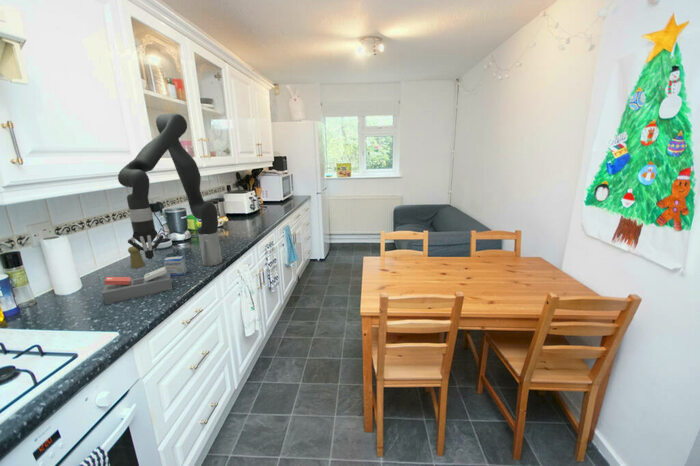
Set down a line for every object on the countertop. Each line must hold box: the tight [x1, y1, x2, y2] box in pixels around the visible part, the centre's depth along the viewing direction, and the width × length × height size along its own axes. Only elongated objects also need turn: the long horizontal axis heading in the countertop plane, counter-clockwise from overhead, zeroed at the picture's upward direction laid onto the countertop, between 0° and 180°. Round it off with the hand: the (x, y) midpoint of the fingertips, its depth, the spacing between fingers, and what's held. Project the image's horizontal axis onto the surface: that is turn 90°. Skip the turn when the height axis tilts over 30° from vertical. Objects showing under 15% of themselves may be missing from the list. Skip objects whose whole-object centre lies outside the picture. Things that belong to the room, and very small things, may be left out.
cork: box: [127, 245, 145, 269], centre depth 152 cm, size 6×6×11 cm
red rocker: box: [104, 276, 132, 286], centre depth 120 cm, size 8×4×2 cm, turn 123°
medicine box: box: [163, 255, 187, 277], centre depth 142 cm, size 8×4×9 cm, turn 105°
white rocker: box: [143, 266, 166, 281], centre depth 126 cm, size 8×4×2 cm, turn 121°
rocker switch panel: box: [101, 272, 173, 305], centre depth 124 cm, size 23×9×6 cm, turn 122°
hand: (150, 258), depth 124 cm, fingers closed
